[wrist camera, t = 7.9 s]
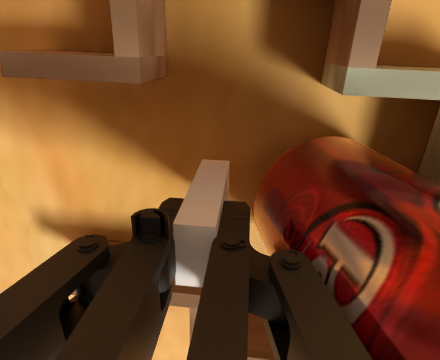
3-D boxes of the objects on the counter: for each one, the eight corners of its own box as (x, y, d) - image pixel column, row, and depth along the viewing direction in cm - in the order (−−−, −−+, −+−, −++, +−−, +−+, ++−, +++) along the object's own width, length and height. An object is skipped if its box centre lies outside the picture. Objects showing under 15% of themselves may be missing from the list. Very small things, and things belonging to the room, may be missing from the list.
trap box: (37, -55, 14) (-38, -90, 10) (516, -46, 12) (625, -85, 9) (97, 298, 23) (67, 345, 19) (380, 330, 21) (406, 388, 18)
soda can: (265, 263, 18) (404, 582, 8) (235, 158, 15) (406, 459, 4) (377, 225, 18) (668, 486, 8) (371, 113, 15) (866, 295, 4)
